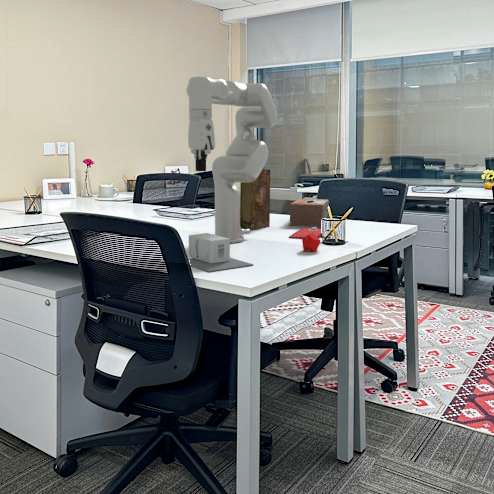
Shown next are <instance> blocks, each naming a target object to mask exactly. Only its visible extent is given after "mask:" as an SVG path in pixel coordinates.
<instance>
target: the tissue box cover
mask: <svg viewBox="0 0 494 494" xmlns="http://www.w3.org/2000/svg"><path fill="white" fill-rule="evenodd" d="M328 206H330V200H329V199H325V198H323V199H322V198H321V199H319V198H318V199H317V198H298V199H297V200H294V201H293V202H291V203H290V204H289V226H290V227H306V228H309V227H310V228H313V227H321V218H323V217H327V216H328V217H329V213H328V211H327V207H328Z"/></svg>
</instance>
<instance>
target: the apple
mask: <svg viewBox="0 0 494 494" xmlns="http://www.w3.org/2000/svg"><path fill="white" fill-rule="evenodd" d="M301 242H302V243H301V244H302V248H303V251H305V252H314V253H315V252H317V250H318V248H319V246H320V244H321V242H322V241H321V240H320V238H319V239H318V238H317V237H316V236H315V235H314V234H313V233H311V234H309V235H307V236H305V237H303V238H302V239H301Z"/></svg>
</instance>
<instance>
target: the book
mask: <svg viewBox="0 0 494 494" xmlns="http://www.w3.org/2000/svg"><path fill="white" fill-rule="evenodd" d="M239 183H240V189H239V192H240V228H242V229H243V230H245V229H250V231H255V230H260V229H263V228H268V227H270V223H271V222H270V221H271V220H270V219H271V218H270V217H271V212H270V210H271V169H269V168H268V169H266V168H265V169H264V168H263V169H262V171H261V172H260V174H259V176H258V177H257V179H256V180H255V181H254V182H250V183H242V182H239Z"/></svg>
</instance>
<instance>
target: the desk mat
mask: <svg viewBox="0 0 494 494" xmlns="http://www.w3.org/2000/svg"><path fill="white" fill-rule="evenodd" d="M188 259H189V260H190V264H191V266H190V267H192V268H195V267H196V269H198V270H201V271H203V272H207V273H214V271H215V272H219V271H227V270H234V269H239V268H241V269H242V268H247V267H253V266H254V263H249V262H246V261H243V260H239V259H236V258H232V257H230V261H226V262H219V263H212V264H211V263H208V262H204V261H201V260H198V259H194V258H188Z"/></svg>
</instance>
